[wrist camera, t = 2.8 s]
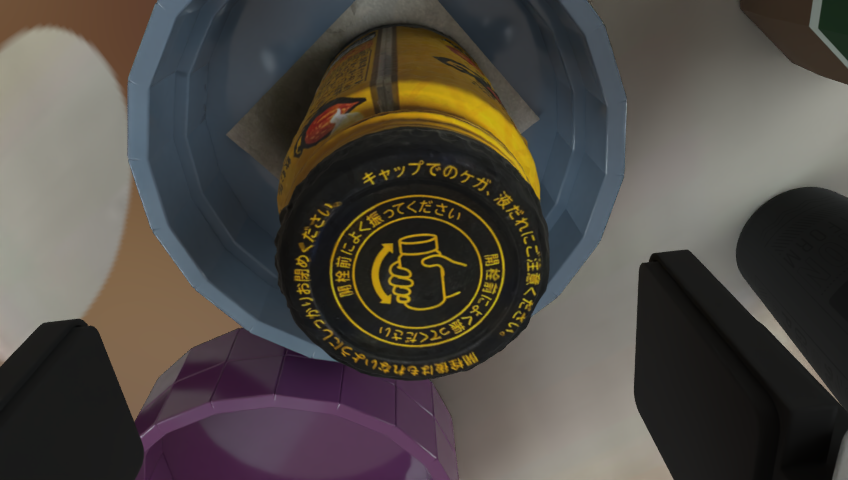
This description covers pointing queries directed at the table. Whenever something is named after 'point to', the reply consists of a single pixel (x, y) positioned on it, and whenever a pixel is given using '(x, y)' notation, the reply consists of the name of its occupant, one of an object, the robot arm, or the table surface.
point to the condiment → (402, 194)
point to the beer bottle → (806, 32)
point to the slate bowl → (257, 188)
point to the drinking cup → (804, 275)
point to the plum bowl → (289, 419)
